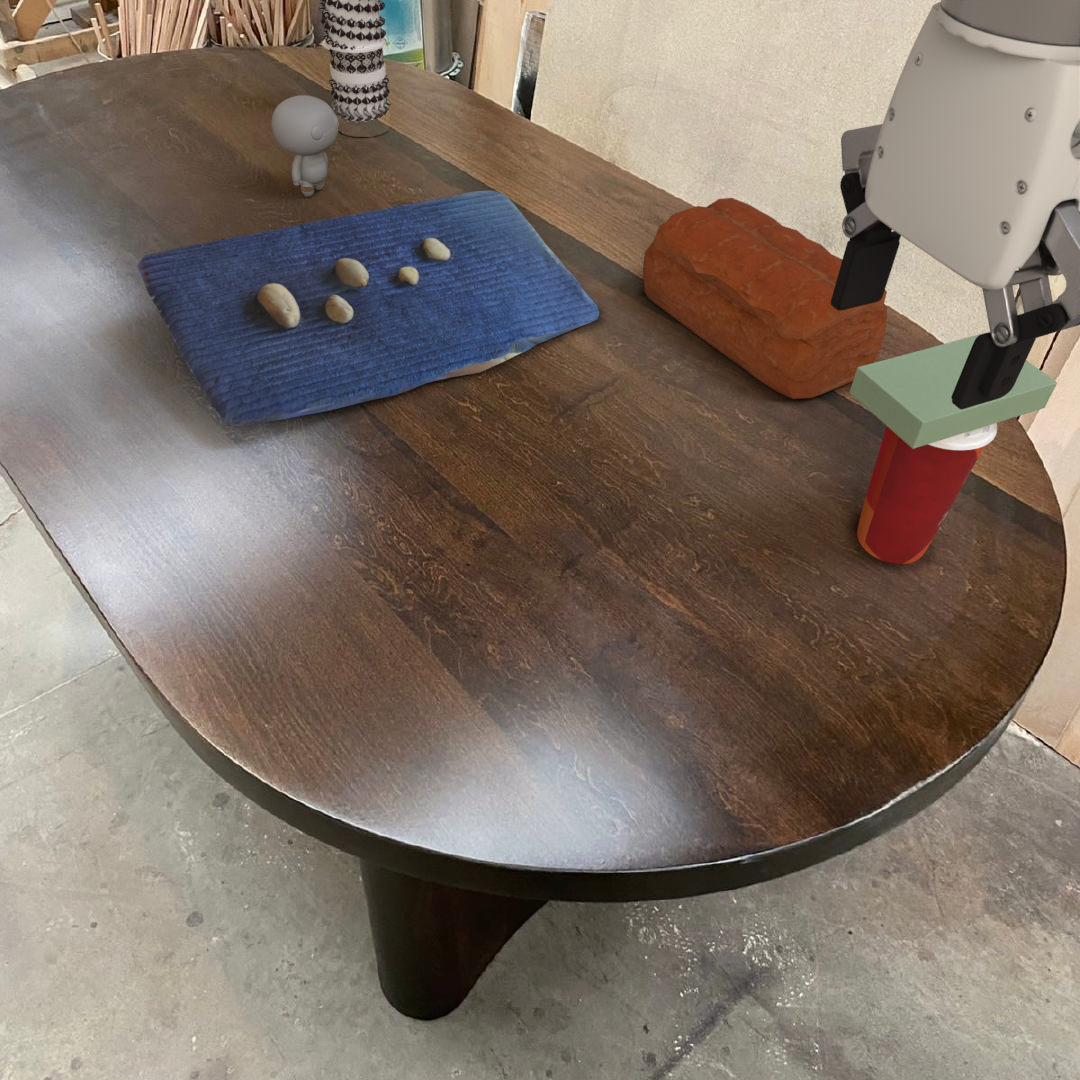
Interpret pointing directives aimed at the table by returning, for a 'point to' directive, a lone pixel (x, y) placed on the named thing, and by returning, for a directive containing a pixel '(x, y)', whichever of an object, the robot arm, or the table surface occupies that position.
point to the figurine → (306, 137)
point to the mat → (361, 304)
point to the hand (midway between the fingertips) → (912, 349)
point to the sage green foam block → (940, 394)
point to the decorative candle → (356, 58)
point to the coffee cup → (915, 492)
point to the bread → (761, 297)
